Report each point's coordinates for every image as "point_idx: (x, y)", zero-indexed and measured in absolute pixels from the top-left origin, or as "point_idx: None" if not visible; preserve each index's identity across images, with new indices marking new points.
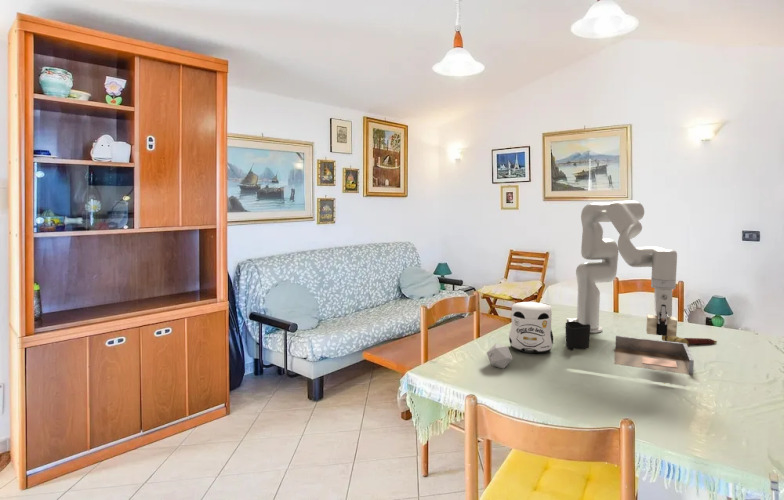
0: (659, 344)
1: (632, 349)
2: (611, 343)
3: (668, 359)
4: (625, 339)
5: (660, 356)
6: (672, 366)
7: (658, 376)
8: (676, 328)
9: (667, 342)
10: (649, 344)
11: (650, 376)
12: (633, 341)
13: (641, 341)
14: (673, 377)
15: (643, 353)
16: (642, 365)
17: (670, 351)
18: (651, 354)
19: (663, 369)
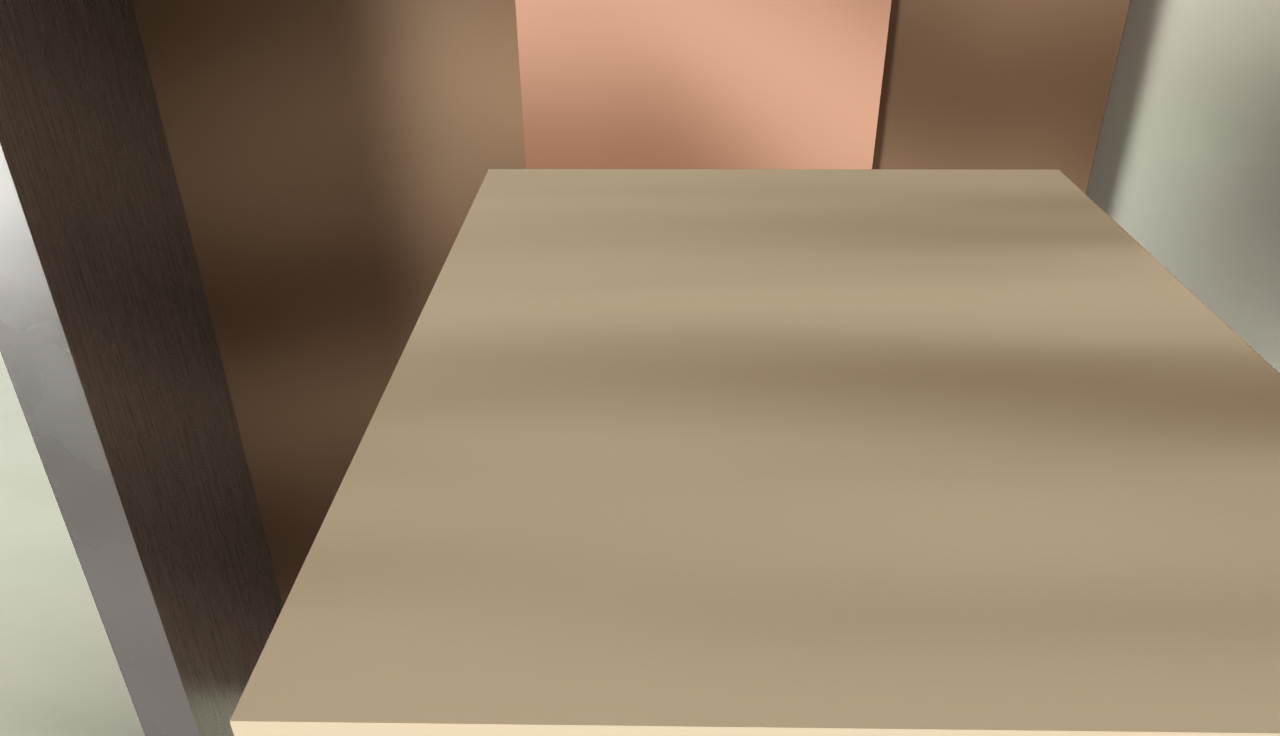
0: (90, 253)
1: (259, 536)
2: (16, 700)
3: (435, 47)
4: (223, 729)
5: (333, 169)
6: (859, 16)
7: (1226, 231)
8: (1242, 346)
9: (2, 124)
10: (149, 401)
11: (1245, 329)
12: (201, 625)
13: (163, 538)
14: (1235, 18)
15: (326, 401)
16: None
17: (91, 5)
18: (305, 297)
19: (1036, 169)
